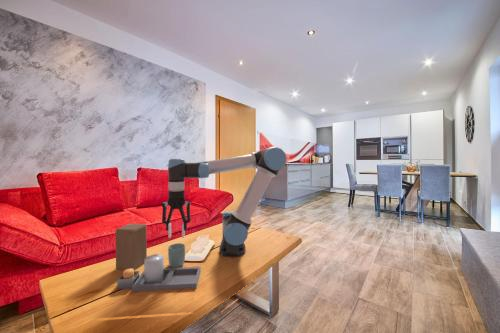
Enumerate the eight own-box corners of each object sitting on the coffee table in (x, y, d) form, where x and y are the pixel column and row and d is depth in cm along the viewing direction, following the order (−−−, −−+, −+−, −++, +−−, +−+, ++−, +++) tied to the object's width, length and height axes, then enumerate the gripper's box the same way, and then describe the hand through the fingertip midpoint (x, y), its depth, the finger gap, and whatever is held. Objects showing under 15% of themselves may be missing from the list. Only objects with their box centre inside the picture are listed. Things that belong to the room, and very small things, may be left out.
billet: (165, 275, 95) (165, 253, 95) (160, 285, 87) (160, 262, 87) (148, 276, 94) (148, 254, 94) (141, 286, 87) (141, 262, 86)
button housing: (139, 281, 92) (139, 271, 91) (133, 289, 86) (133, 278, 85) (124, 282, 91) (124, 271, 91) (117, 290, 85) (117, 279, 85)
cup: (165, 266, 105) (165, 246, 104) (179, 260, 110) (179, 242, 110) (173, 272, 99) (173, 251, 99) (187, 266, 105) (187, 246, 105)
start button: (135, 277, 90) (135, 268, 90) (131, 282, 86) (131, 273, 86) (125, 277, 90) (125, 268, 90) (121, 283, 86) (121, 273, 86)
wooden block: (133, 272, 99) (132, 230, 98) (114, 270, 101) (114, 228, 100) (147, 262, 108) (147, 223, 108) (130, 260, 110) (130, 222, 110)
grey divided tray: (200, 272, 99) (200, 266, 99) (196, 289, 86) (196, 283, 86) (145, 274, 97) (145, 269, 97) (131, 293, 83) (131, 286, 83)
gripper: (197, 188, 108) (197, 233, 109) (159, 189, 106) (159, 234, 107) (195, 191, 101) (194, 238, 102) (153, 191, 99) (154, 240, 100)
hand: (176, 236), depth 104 cm, fingers open, 6 cm apart
